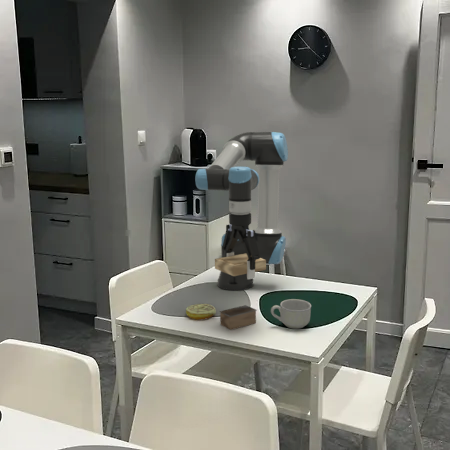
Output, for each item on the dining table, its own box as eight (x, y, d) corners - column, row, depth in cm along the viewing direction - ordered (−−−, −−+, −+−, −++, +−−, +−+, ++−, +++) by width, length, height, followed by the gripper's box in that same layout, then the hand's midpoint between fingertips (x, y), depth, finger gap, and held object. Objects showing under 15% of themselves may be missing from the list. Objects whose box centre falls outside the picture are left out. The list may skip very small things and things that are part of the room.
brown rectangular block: (219, 324, 214) (219, 311, 213) (245, 318, 221) (245, 304, 220) (230, 330, 209) (230, 316, 208) (256, 323, 215) (256, 309, 214)
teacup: (310, 320, 218) (310, 299, 216) (311, 331, 207) (311, 309, 205) (271, 319, 219) (271, 298, 217) (270, 330, 208) (270, 308, 207)
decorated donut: (221, 317, 223) (221, 307, 222) (196, 323, 216) (196, 313, 216) (205, 309, 231) (205, 299, 230) (181, 315, 225) (180, 305, 224)
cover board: (214, 268, 212) (214, 258, 211) (246, 262, 219) (246, 252, 218) (233, 276, 202) (233, 265, 202) (266, 269, 210) (266, 259, 209)
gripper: (211, 208, 214) (212, 268, 219) (252, 219, 195) (252, 284, 199) (229, 206, 219) (229, 265, 223) (270, 216, 199) (270, 280, 203)
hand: (240, 274), depth 211 cm, fingers closed on cover board, 11 cm apart
